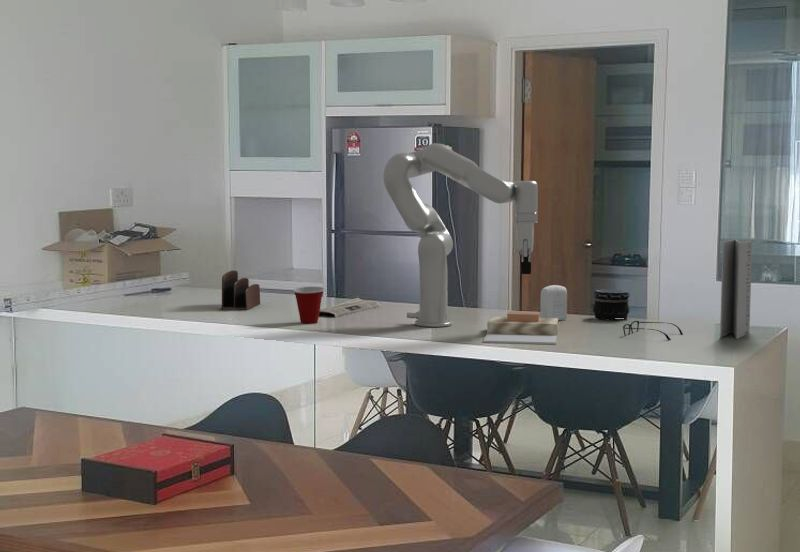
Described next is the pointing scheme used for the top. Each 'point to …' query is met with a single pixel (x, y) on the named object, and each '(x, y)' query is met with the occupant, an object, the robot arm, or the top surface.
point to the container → (611, 304)
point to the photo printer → (553, 302)
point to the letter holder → (238, 292)
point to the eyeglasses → (649, 329)
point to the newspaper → (349, 307)
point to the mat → (520, 339)
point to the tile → (523, 316)
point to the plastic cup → (309, 303)
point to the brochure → (736, 288)
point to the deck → (522, 326)
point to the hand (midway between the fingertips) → (526, 273)
